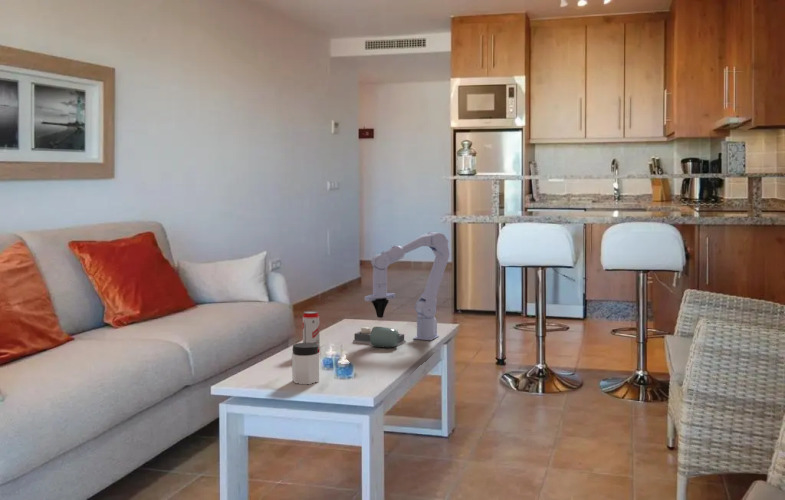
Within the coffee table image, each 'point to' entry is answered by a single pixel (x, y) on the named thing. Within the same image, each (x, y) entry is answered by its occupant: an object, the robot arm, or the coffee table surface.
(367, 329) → the white egg
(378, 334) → the cup
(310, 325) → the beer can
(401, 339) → the gray compartment tray
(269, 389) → the coffee table surface
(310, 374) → the jar
